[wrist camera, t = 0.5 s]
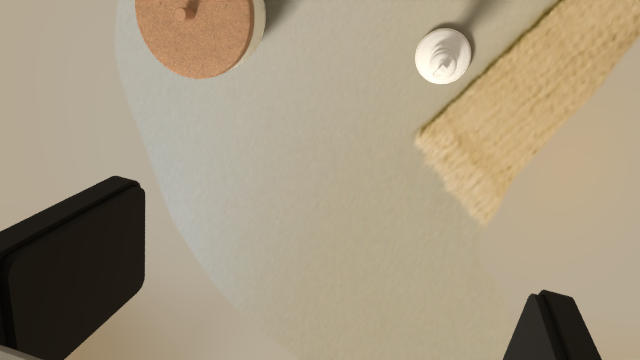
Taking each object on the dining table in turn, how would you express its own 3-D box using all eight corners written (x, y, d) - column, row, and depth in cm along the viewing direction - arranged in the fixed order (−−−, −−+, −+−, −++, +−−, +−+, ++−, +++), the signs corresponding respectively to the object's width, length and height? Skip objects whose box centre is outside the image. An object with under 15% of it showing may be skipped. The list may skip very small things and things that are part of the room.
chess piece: (404, 60, 42) (393, 73, 33) (441, 16, 40) (441, 17, 31) (443, 94, 42) (444, 117, 33) (483, 52, 40) (495, 64, 31)
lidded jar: (203, -68, 42) (143, -89, 34) (299, -12, 42) (263, -18, 33) (167, 36, 47) (107, 41, 38) (254, 88, 46) (212, 105, 38)
